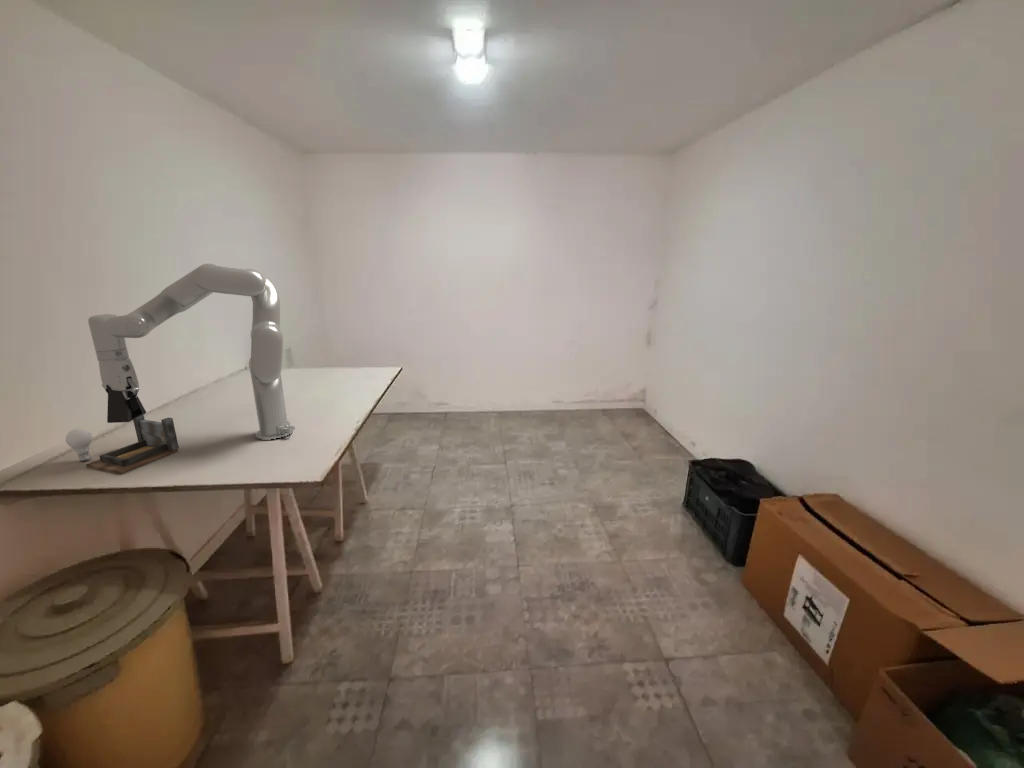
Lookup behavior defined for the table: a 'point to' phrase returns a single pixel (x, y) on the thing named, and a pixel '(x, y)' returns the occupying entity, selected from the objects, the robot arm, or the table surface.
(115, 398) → the phone stand
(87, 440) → the lightbulb
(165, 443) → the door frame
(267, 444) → the table surface
